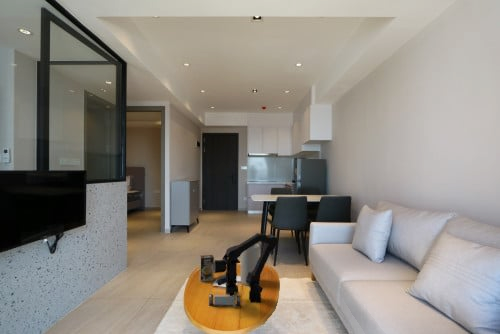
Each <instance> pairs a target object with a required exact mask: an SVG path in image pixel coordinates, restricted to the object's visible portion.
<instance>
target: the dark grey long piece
mask: <svg viewBox="0 0 500 334" xmlns="http://www.w3.org/2000/svg"><path fill="white" fill-rule="evenodd" d="M241 296H242V295H241V294H236V299H233V305H220V304H214V294H210V293H209V295H208V306H209V307H232V308H233V309H234V308H235V309H236V308H238V307H241V304H242V303H241V302H242V301H241V298H242V297H241Z"/></svg>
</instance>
